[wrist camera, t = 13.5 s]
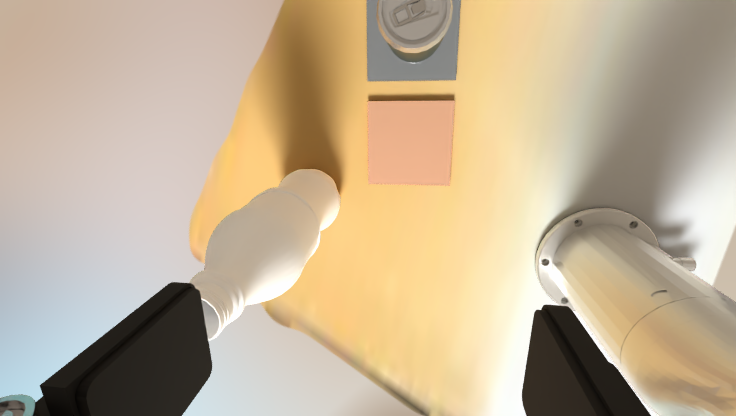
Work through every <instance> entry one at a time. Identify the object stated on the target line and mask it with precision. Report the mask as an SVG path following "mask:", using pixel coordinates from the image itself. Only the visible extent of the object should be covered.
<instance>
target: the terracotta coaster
mask: <svg viewBox="0 0 736 416" xmlns="http://www.w3.org/2000/svg"><path fill="white" fill-rule="evenodd" d="M454 103H455V101H454V100H450V101H368V173H369V184H394V185H445V186H450V171H451V154H452V137H453V120H454Z"/></svg>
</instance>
